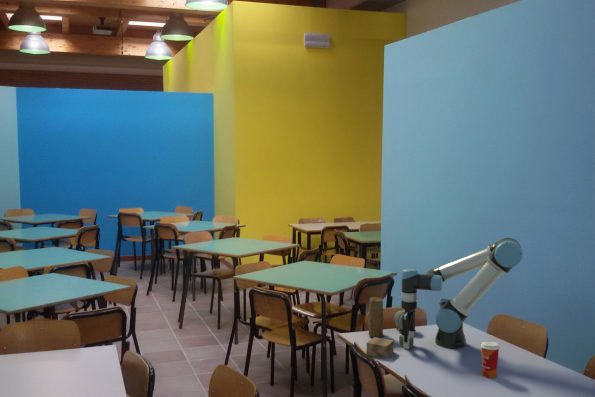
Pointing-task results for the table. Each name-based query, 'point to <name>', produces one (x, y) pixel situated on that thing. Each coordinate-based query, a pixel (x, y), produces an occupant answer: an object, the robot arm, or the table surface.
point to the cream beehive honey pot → (399, 319)
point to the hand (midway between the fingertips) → (408, 346)
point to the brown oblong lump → (376, 317)
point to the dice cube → (411, 341)
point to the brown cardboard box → (380, 347)
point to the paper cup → (489, 359)
